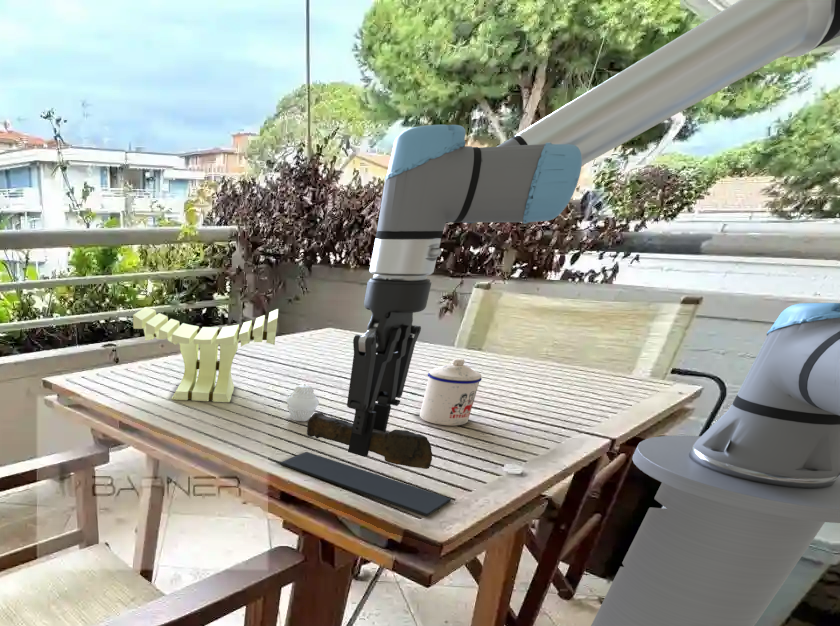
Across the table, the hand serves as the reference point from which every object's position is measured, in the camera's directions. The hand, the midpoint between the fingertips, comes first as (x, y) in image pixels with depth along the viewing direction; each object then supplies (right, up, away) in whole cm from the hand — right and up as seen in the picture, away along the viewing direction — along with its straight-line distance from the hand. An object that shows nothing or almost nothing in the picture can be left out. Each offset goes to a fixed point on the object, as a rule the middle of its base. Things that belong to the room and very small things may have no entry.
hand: (365, 450), depth 80 cm
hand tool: (0, 0, +1) cm, 1 cm away
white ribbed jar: (-1, +10, +29) cm, 31 cm away
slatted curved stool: (-18, +20, +48) cm, 55 cm away
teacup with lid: (+28, +10, +28) cm, 41 cm away
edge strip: (0, -4, +2) cm, 5 cm away
